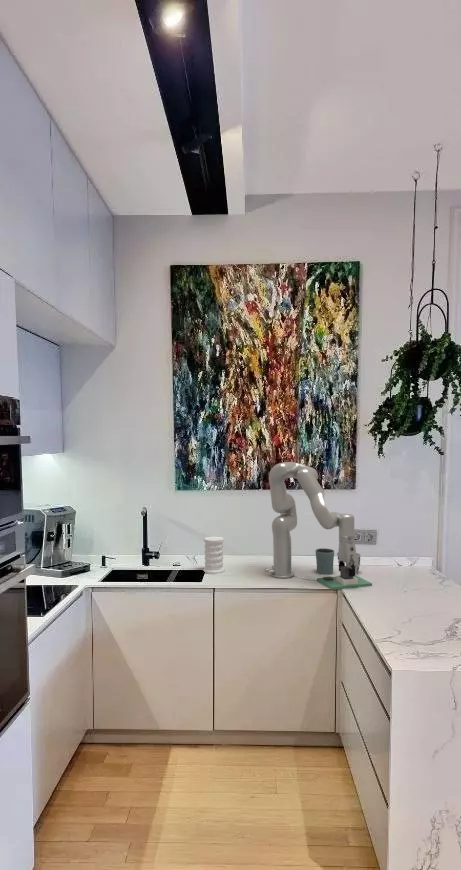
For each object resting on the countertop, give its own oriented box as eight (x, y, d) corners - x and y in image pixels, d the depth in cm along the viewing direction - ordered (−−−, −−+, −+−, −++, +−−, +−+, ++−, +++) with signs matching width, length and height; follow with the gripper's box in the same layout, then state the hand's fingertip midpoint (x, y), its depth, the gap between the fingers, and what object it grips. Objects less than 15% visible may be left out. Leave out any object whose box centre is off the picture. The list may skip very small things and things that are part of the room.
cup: (361, 575, 252) (360, 556, 252) (345, 574, 254) (345, 555, 254) (360, 571, 260) (359, 552, 260) (344, 570, 262) (344, 552, 262)
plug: (345, 582, 233) (345, 568, 233) (340, 580, 237) (340, 565, 237) (354, 581, 234) (354, 567, 234) (349, 579, 239) (349, 565, 239)
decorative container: (199, 571, 260) (198, 538, 260) (213, 567, 269) (213, 535, 269) (214, 575, 253) (214, 541, 253) (228, 570, 262) (228, 538, 262)
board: (331, 589, 228) (331, 582, 228) (316, 580, 243) (316, 573, 243) (372, 585, 234) (372, 578, 234) (354, 576, 249) (354, 569, 249)
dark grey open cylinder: (328, 569, 264) (328, 547, 264) (338, 574, 255) (338, 551, 255) (312, 571, 261) (312, 549, 261) (321, 575, 251) (321, 553, 251)
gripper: (362, 542, 229) (363, 577, 228) (344, 535, 245) (344, 568, 245) (348, 543, 227) (349, 579, 226) (331, 536, 243) (331, 569, 243)
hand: (346, 573), depth 236 cm, fingers open, 9 cm apart
